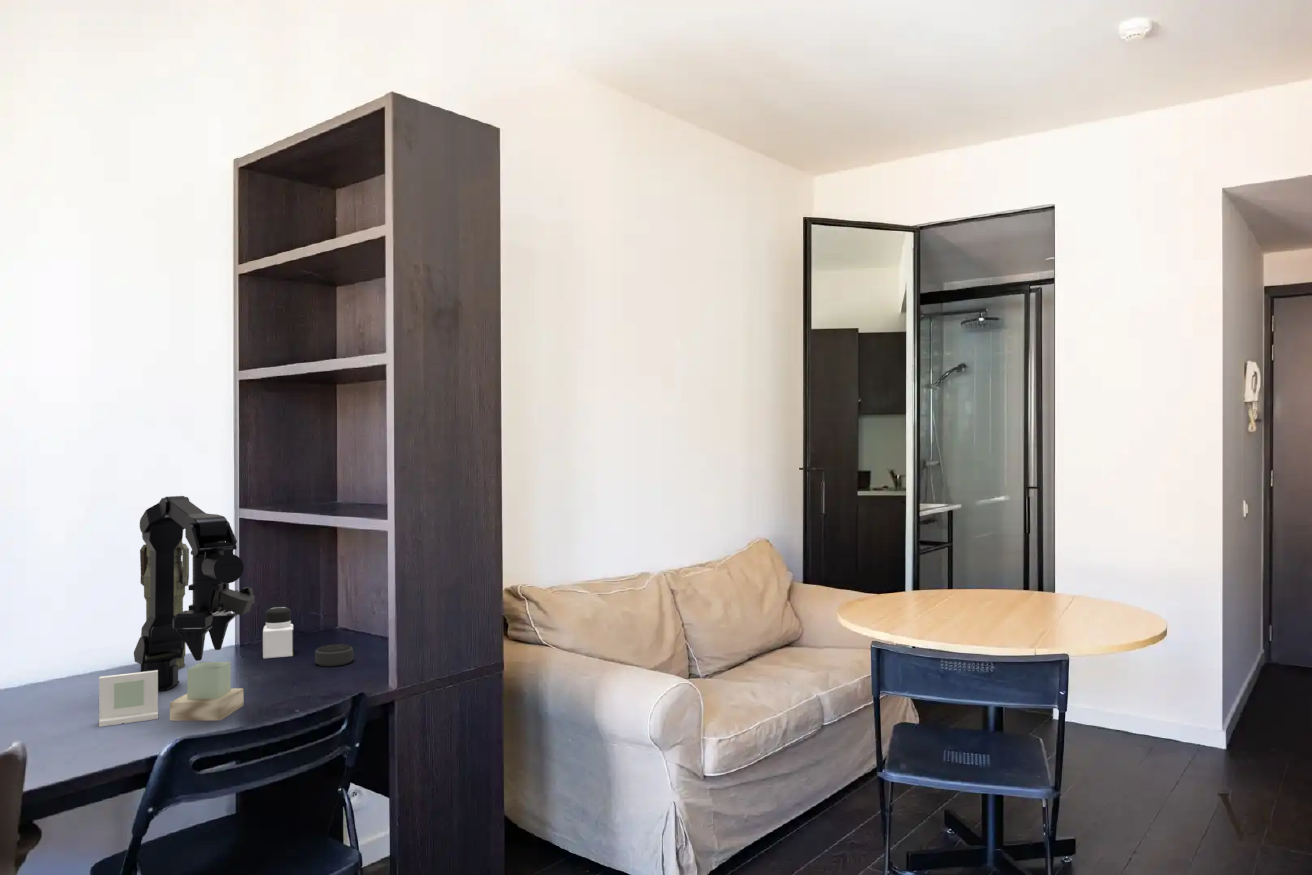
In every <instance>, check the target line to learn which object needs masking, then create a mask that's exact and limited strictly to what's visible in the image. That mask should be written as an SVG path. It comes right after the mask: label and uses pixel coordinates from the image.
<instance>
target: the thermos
mask: <svg viewBox="0 0 1312 875" xmlns="http://www.w3.org/2000/svg"><path fill="white" fill-rule="evenodd" d="M139 559H140V560H139V561H140V565H139V566H140V584H141V585H142V586H143V597H144V600H145V608H146V609H145V610H146V611H145V613H146V614H145V617H146V618H145V622H146V621H147V619H148V618H149V616H150V562H151V551H150V549H149V547H148V546H147V545H146V543H145V544H143V545H142V546H141V548H140V549H139ZM189 580H190V548H189V547H188V545H187V543H184V542H183V539H182V540H181V541H180V543H179V544H178V546H177V547H176V549H175V551H174V616H176V615H177V614H178V613H181V612H183V611H184V597H185V595H186V587H187V586H188V587H189ZM145 657H146V656H145ZM185 657H186V643H184V650H183V655H182V658H176V664H177V665H178V670H181V669H183V668H185V666H186V664H185Z"/></svg>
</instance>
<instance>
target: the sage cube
mask: <svg viewBox="0 0 1312 875" xmlns="http://www.w3.org/2000/svg"><path fill="white" fill-rule="evenodd" d="M186 671H187V673H186V674H187V676H186V677H187V680H186V682H187V686H186V689H187V692H186V694H187V699H219V698H220V697H222V696H223V695H225V694H226V693H228V692H229V691H231V689H232V683H231V681H232V673H231V672H232V662H231V661H201V662H199V663H197V664H195V665H193V666H191V667H189V668H188V669H187V670H186Z"/></svg>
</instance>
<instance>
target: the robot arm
mask: <svg viewBox="0 0 1312 875" xmlns="http://www.w3.org/2000/svg"><path fill="white" fill-rule="evenodd" d="M139 529H140V532H141V538H142V541H143V542H144V543H145V544H146V545H147V546H148V547H149V549H150V551H151V562H150V616H149V618H148V619H147V621H146V620H145V622H144V623H143V625H142V627H141V629H140V630H141V634H140V637H139V639H138V641H137V643H136V646H135V648H134V651H133V659H134V662H135V663H137V664H139V665H140V672H146V671H155V670H158V691H168V690H170V689H172V688H173V687H175V686H177V685H178V684H179V683H180V680H179V669H178V665H177V664H176V658H182V655H183V650H184V643H185V645H186V646H187V648H188V649H189V651H190V654H191V655H192V657H193V659H194V660H195V661H196V662H197V661H202V660H203V655H204V648H205V641H206V640H205V639H206V634H207V633H208V632H209V637H210V640H211V643H212V645H213V649H214V650H215V651H220V650H221V649H222V646H223V643H224V639H225V636H226V633H227V629H228V627H229V623H230V622H231V621H232V620H233V619H235V618H236V617H237V616H244V615H245V614H246V613H250V610H251V608H252V605H253V604H254V603H256V599H255V598H256V596H255V595H254V590H253V589H254V588H251V587H248V586H245V587H243V588H241V590H237V589H236V590H233V589H230V584H231V583H234V582H236V581H237V580H238V579H240V578H241V577H242V575H243V573H244V569H245V567H244V566H245V565H244V562H243V561H242V559H241V558H240V557H239V556H238V555H236V554H234V550H237V548H238V547H237V542H238V540H237V538H236V536H235V533H234V532H233V529H232V526H231V524H230V522H229V521H228V519H227V518H226V517H225V516H223V515H220V514H215V513H207V512H205V511H203V510H202V509H201V508H200V507H199V506H197V505H196V504H194V503H192V501H190V498H189V497H187V496H184V495H171V496H165V497H162V498H161V499H160V500H159V502H158V503H155V504H154V505H152V506H151V507H148V508H147V509H145V511H144V512H143V514H142V516H141V517H140V519H139ZM184 530H185V533H184ZM184 534H185V536H184ZM183 536H184V537H185V539H186V541H187V542H188V544H189V546H190V549H191V550H190V555H191V556H192V584H188V591H192V604H189V605H188V610H183V612H181V613H178V614H177V615H176V616H174V551H175V549H176V547H177V546H178V544H179V543H180V541H181V540H182V541H183ZM145 656H146V657H145Z"/></svg>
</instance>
